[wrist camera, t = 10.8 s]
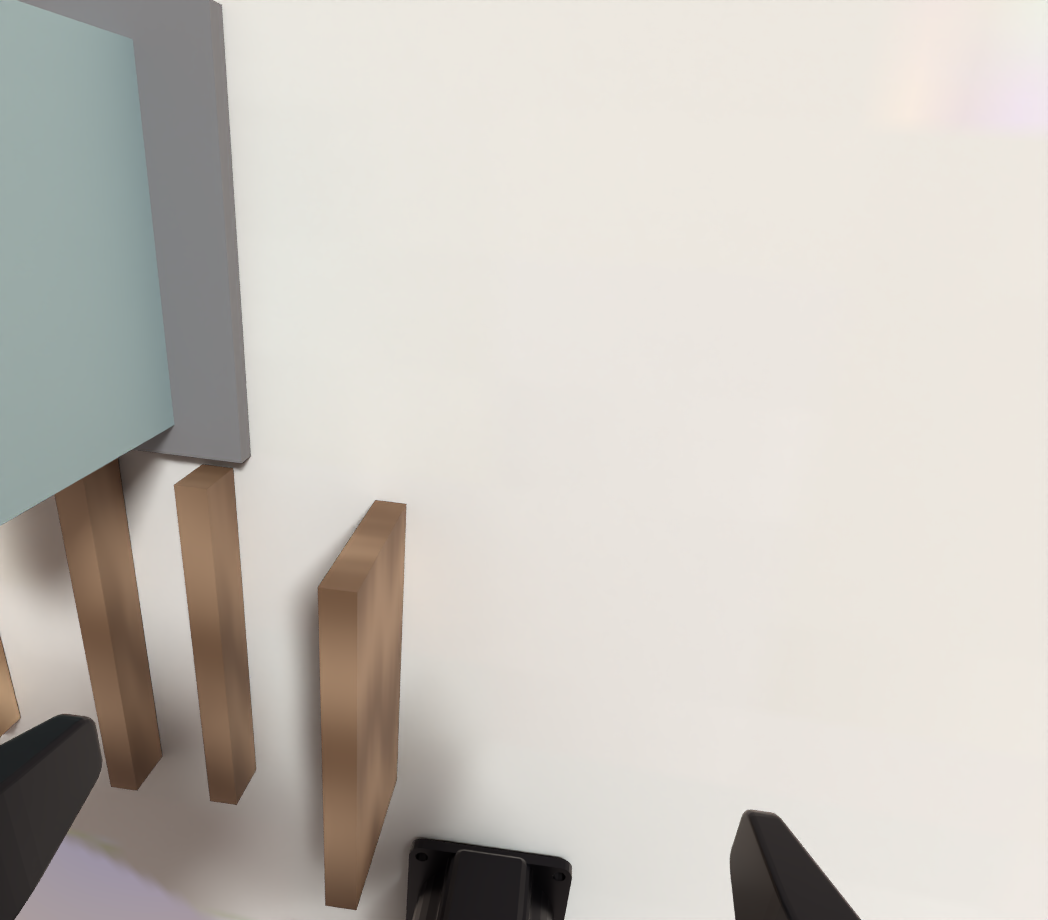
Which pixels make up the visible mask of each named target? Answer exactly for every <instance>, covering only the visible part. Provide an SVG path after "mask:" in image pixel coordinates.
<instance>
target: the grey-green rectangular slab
mask: <svg viewBox="0 0 1048 920" xmlns="http://www.w3.org/2000/svg"><path fill="white" fill-rule="evenodd" d="M173 425H174V417H173V407H172V398H171V389H170V380H169V370H168V361H167V352H166V343H165V333H164V324H163V315H162V306H161V296H160V287H159V278H158V269H157V259H156V250H155V241H154V232H153V222H152V213H151V204H150V195H149V185H148V176H147V167H146V158H145V148H144V139H143V130H142V121H141V111H140V102H139V93H138V84H137V74H136V65H135V56H134V47H133V39H130V38H127V37H124V36H121V35H118V34H115V33H112V32H109V31H106V30H104V29H101V28H98V27H95V26H92V25H89V24H86V23H83V22H80V21H77V20H74V19H71V18H68V17H65V16H62V15H59V14H56V13H53V12H50V11H47V10H44V9H41V8H38V7H35V6H32V5H29V4H26V3H23V2H20V1H17V0H0V526H1V525H2V524H4V523H6V522H8V521H9V520H11V519H13V518H14V517H16V516H18V515H20V514H21V513H23V512H25V511H27V510H28V509H30V508H32V507H33V506H35V505H37V504H39V503H40V502H42V501H44V500H46V499H47V498H49V497H51V496H52V495H54V494H56V493H58V492H59V491H61V490H63V489H65V488H66V487H68V486H70V485H71V484H73V483H75V482H77V481H78V480H80V479H82V478H84V477H85V476H87V475H89V474H90V473H92V472H94V471H96V470H97V469H99V468H101V467H102V466H104V465H106V464H108V463H109V462H111V461H113V460H115V459H116V458H118V457H120V456H121V455H123V454H125V453H127V452H128V451H130V450H132V449H134V448H135V447H137V446H139V445H140V444H142V443H144V442H146V441H147V440H149V439H151V438H153V437H154V436H156V435H158V434H159V433H161V432H163V431H165V430H166V429H168V428H170V427H172V426H173Z"/></svg>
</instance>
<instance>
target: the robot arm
mask: <svg viewBox="0 0 1048 920" xmlns="http://www.w3.org/2000/svg"><path fill="white" fill-rule="evenodd" d="M101 768H102V755H101V750H100V745H99V740H98V735H97V730H96V725H95V722H94V721H93V720H92V719H91V718H89V717H86V716H79V715H72V714H61V715H57V716H55V717H53V718H51V719H49V720H47V721H45V722H43V723H41V724H40V725H38V726H36V727H34V728H32V729H30V730H28V731H26V732H24V733H22V734H21V735H19V736H17V737H15V738H13V739H11V740H9V741H7V742H5V743H3V744H2V745H0V920H14V919H15V918H16V916H17V915H18V914H19V912H20V911H21V909H22V907H23V906H24V905H25V903H26V901H27V900H28V898H29V897H30V895H31V894H32V892H33V891H34V889H35V887H36V886H37V884H38V882H39V881H40V879H41V877H42V876H43V874H44V872H45V871H46V869H47V867H48V865H49V863H50V862H51V860H52V858H53V856H54V855H55V853H56V851H57V850H58V848H59V846H60V844H61V843H62V841H63V839H64V837H65V836H66V834H67V832H68V830H69V829H70V827H71V825H72V823H73V821H74V820H75V818H76V816H77V814H78V813H79V811H80V809H81V807H82V806H83V804H84V802H85V800H86V799H87V797H88V795H89V793H90V792H91V790H92V788H93V786H94V785H95V783H96V781H97V779H98V777H99V774H100V772H101ZM730 874H731V883H732V893H733V902H734V911H735V920H861V919H860V918H859V916H858V915H857V914H856V913H855V911H854V910H853V909H852V908H851V906H850V905H849V904H848V903H847V901H846V900H845V899H844V897H843V896H842V895H841V894H840V892H839V891H838V890H837V889H836V887H835V886H834V885H833V884H832V882H831V881H830V880H829V879H828V877H827V876H826V875H825V873H824V872H823V871H822V870H821V868H820V867H819V866H818V865H817V863H816V862H815V861H814V860H813V858H812V857H811V856H810V855H809V853H808V852H807V851H806V849H805V848H804V847H803V846H802V844H801V843H800V842H799V841H798V839H797V838H796V837H795V836H794V834H793V833H792V832H791V831H790V829H789V828H788V827H787V825H786V824H785V823H784V822H783V820H782V819H781V818H780V817H779V816H777V815H776V814H774V813H771V812H764V811H757V810H746V811H745V812H744V813H743V815H742V817H741V821H740V824H739V827H738V830H737V833H736V836H735V839H734V842H733V846H732V849H731V853H730ZM571 880H572V866H571V864H570V863H569V862H568V861H566V860H564V859H560V858H553V857H546V856H539V855H532V854H525V853H518V852H511V851H504V850H497V849H490V848H483V847H476V846H470V845H463V844H456V843H449V842H442V841H435V840H428V839H418V840H415V841H414V842H413V843H412V846H411V850H410V854H409V871H408V892H407V913H406V920H564V917H565V912H566V907H567V901H568V896H569V891H570V885H571Z"/></svg>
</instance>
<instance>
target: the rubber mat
mask: <svg viewBox="0 0 1048 920" xmlns="http://www.w3.org/2000/svg"><path fill="white" fill-rule="evenodd" d="M17 1H20V2H23V3H26V4H29V5H32V6H35V7H38V8H41V9H44V10H47V11H50V12H53V13H56V14H59V15H62V16H65V17H68V18H71V19H74V20H77V21H80V22H83V23H86V24H89V25H92V26H95V27H98V28H101V29H104V30H106V31H109V32H112V33H115V34H118V35H121V36H124V37H127V38H130V39H133V47H134V56H135V65H136V74H137V84H138V93H139V102H140V111H141V121H142V130H143V139H144V148H145V158H146V167H147V176H148V185H149V195H150V204H151V213H152V222H153V232H154V241H155V250H156V259H157V269H158V278H159V287H160V296H161V306H162V315H163V324H164V333H165V343H166V352H167V361H168V370H169V380H170V389H171V398H172V407H173V417H174V425H173V426H172V427H170V428H168V429H166V430H165V431H163V432H161V433H159V434H158V435H156V436H154V437H153V438H151V439H149V440H147V441H146V442H144V443H142V444H140V445H139V446H137V447H135V448H134V449H132V450H140V451H148V452H156V453H164V454H172V455H180V456H188V457H196V458H204V459H212V460H220V461H228V462H236V463H243V462H244V461H245V460H246V459H248V458H249V457H250V456H251V453H250V438H249V422H248V406H247V391H246V375H245V360H244V344H243V329H242V313H241V298H240V282H239V267H238V251H237V236H236V220H235V204H234V189H233V173H232V158H231V142H230V127H229V111H228V96H227V80H226V65H225V49H224V34H223V18H222V5H221V4H219V3H217V2H215V1H213V0H17Z"/></svg>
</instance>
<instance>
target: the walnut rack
mask: <svg viewBox="0 0 1048 920" xmlns="http://www.w3.org/2000/svg"><path fill="white" fill-rule="evenodd" d="M174 490H175V498H176V507H177V516H178V524H179V533H180V542H181V551H182V559H183V568H184V577H185V585H186V594H187V603H188V611H189V620H190V629H191V638H192V646H193V655H194V664H195V672H196V681H197V690H198V698H199V707H200V716H201V725H202V733H203V742H204V751H205V759H206V768H207V777H208V785H209V794H210V801H214V802H221V803H228V804H235V805H237V803H238V801H239V800H240V798H241V796H242V794H243V792H244V791H245V789H246V787H247V785H248V783H249V782H250V780H251V778H252V776H253V774H254V773H255V771H256V762H255V749H254V736H253V722H252V709H251V696H250V683H249V670H248V657H247V644H246V630H245V617H244V604H243V591H242V578H241V565H240V551H239V538H238V525H237V512H236V499H235V486H234V473H233V468H228V467H220V466H212V465H204V464H202V465H201V466H199V467H198V468H197V469H195V470H194V471H193V472H191V473H190V474H188V475H187V476H186V477H184V478H183V479H182V480H180V481H179V482H177V483H176V484H175V485H174ZM55 499H56V504H57V509H58V514H59V520H60V525H61V530H62V535H63V540H64V545H65V551H66V556H67V561H68V566H69V571H70V577H71V582H72V587H73V592H74V597H75V603H76V608H77V613H78V618H79V623H80V628H81V634H82V639H83V644H84V649H85V654H86V660H87V665H88V670H89V675H90V680H91V685H92V691H93V696H94V701H95V706H96V711H97V717H98V722H99V727H100V732H101V737H102V742H103V748H104V753H105V758H106V763H107V768H108V774H109V779H110V784H111V787H116V788H123V789H130V790H138V789H139V787H140V786H141V785H142V783H143V782H144V780H145V779H146V778H147V776H148V775H149V774H150V772H151V771H152V770H153V768H154V767H155V766H156V764H157V763H158V761H159V760H160V759H161V757H162V752H161V746H160V739H159V732H158V725H157V719H156V712H155V705H154V699H153V692H152V685H151V678H150V672H149V665H148V658H147V651H146V645H145V638H144V631H143V625H142V618H141V611H140V604H139V598H138V591H137V584H136V577H135V571H134V564H133V557H132V550H131V544H130V537H129V530H128V524H127V517H126V510H125V503H124V497H123V490H122V483H121V476H120V470H119V463H118V458H116V459H115V460H113V461H111V462H109V463H108V464H106V465H104V466H102V467H101V468H99V469H97V470H96V471H94V472H92V473H90V474H89V475H87V476H85V477H84V478H82V479H80V480H78V481H77V482H75V483H73V484H71V485H70V486H68V487H66V488H65V489H63V490H61V491H59V492H58V493H56V494H55ZM405 528H406V504H402V503H394V502H386V501H378V500H375V502H374V503H373V505H372V506H371V508H370V509H369V511H368V512H367V514H366V515H365V517H364V518H363V520H362V521H361V523H360V524H359V526H358V527H357V529H356V530H355V532H354V533H353V535H352V536H351V538H350V539H349V541H348V542H347V544H346V545H345V547H344V549H343V550H342V552H341V553H340V555H339V556H338V558H337V559H336V561H335V562H334V564H333V565H332V567H331V568H330V570H329V571H328V573H327V574H326V576H325V577H324V579H323V580H322V582H321V583H320V585H319V586H318V615H319V657H320V698H321V740H322V782H323V824H324V866H325V906H332V907H339V908H346V909H352V910H357V906H358V903H359V900H360V897H361V893H362V890H363V887H364V884H365V881H366V877H367V874H368V871H369V868H370V865H371V861H372V858H373V855H374V852H375V848H376V845H377V842H378V839H379V836H380V832H381V829H382V826H383V823H384V819H385V816H386V813H387V810H388V807H389V803H390V800H391V797H392V794H393V790H394V787H395V784H396V781H397V756H398V728H399V699H400V671H401V642H402V614H403V585H404V557H405Z"/></svg>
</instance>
